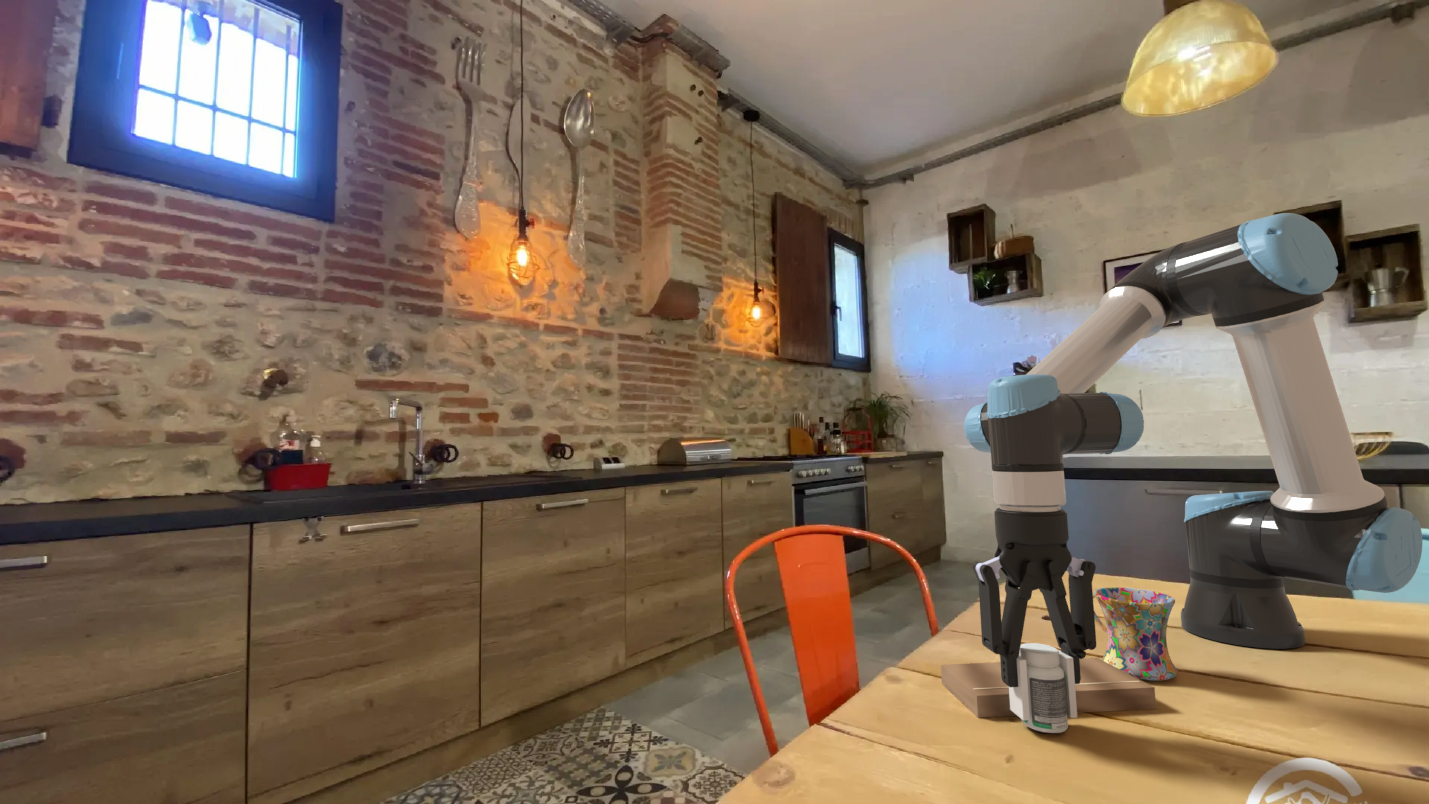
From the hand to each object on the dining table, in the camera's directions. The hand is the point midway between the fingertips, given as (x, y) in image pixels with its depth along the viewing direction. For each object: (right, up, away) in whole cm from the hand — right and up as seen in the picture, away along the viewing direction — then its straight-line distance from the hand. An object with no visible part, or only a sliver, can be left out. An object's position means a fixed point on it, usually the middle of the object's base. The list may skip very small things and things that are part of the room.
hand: (1043, 713), depth 67 cm
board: (+5, -2, +8) cm, 10 cm away
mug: (+21, -3, +16) cm, 27 cm away
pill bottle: (0, -1, 0) cm, 1 cm away
